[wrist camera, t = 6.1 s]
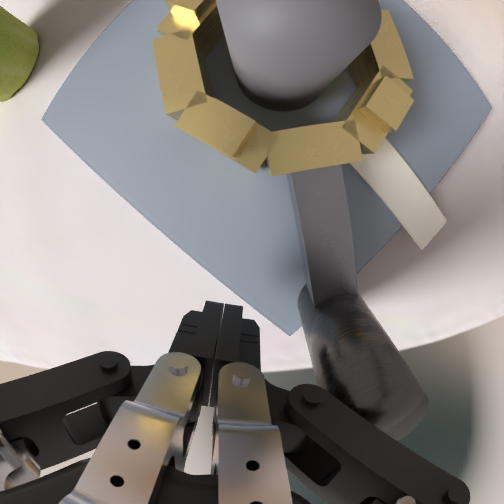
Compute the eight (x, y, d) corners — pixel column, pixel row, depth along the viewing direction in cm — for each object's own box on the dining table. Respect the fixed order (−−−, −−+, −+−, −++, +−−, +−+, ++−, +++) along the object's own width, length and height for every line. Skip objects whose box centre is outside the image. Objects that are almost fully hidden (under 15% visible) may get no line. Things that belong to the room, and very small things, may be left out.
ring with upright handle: (163, 16, 10) (92, -77, 2) (347, -11, 9) (404, -102, 1) (242, 342, 15) (231, 475, 7) (408, 304, 15) (488, 399, 7)
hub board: (261, -74, 8) (262, -146, 1) (494, 131, 12) (581, 135, 5) (52, 120, 13) (-45, 115, 5) (309, 342, 17) (336, 447, 9)
